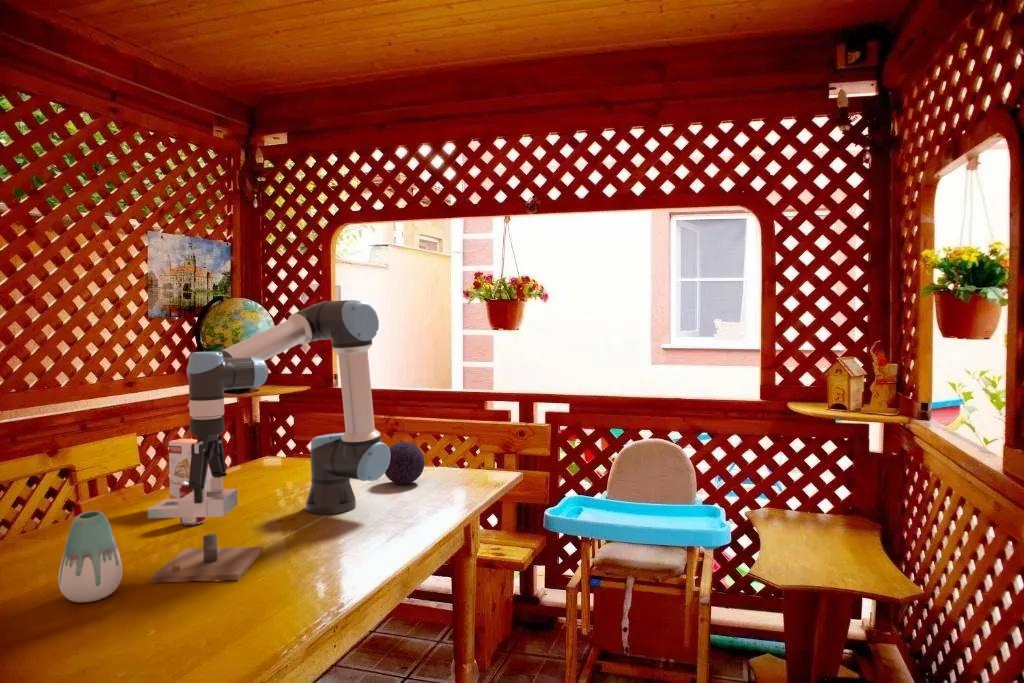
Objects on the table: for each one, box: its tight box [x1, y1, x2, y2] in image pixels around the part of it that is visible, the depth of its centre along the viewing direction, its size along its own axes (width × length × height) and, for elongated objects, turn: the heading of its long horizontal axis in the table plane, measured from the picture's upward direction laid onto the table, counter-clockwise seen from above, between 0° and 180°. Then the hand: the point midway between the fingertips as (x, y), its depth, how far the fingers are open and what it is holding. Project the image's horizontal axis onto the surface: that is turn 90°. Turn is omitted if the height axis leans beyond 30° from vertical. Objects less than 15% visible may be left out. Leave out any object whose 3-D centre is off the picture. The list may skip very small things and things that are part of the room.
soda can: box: [179, 481, 207, 526], centre depth 200 cm, size 7×7×12 cm
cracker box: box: [168, 438, 212, 499], centre depth 218 cm, size 14×6×21 cm, turn 70°
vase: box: [58, 510, 123, 604], centre depth 147 cm, size 12×12×18 cm
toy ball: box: [384, 441, 426, 485], centre depth 247 cm, size 15×15×15 cm
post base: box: [150, 533, 264, 584], centre depth 164 cm, size 19×19×8 cm
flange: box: [147, 488, 238, 519], centre depth 164 cm, size 17×10×4 cm, turn 94°
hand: (208, 510), depth 164 cm, fingers closed on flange, 10 cm apart
